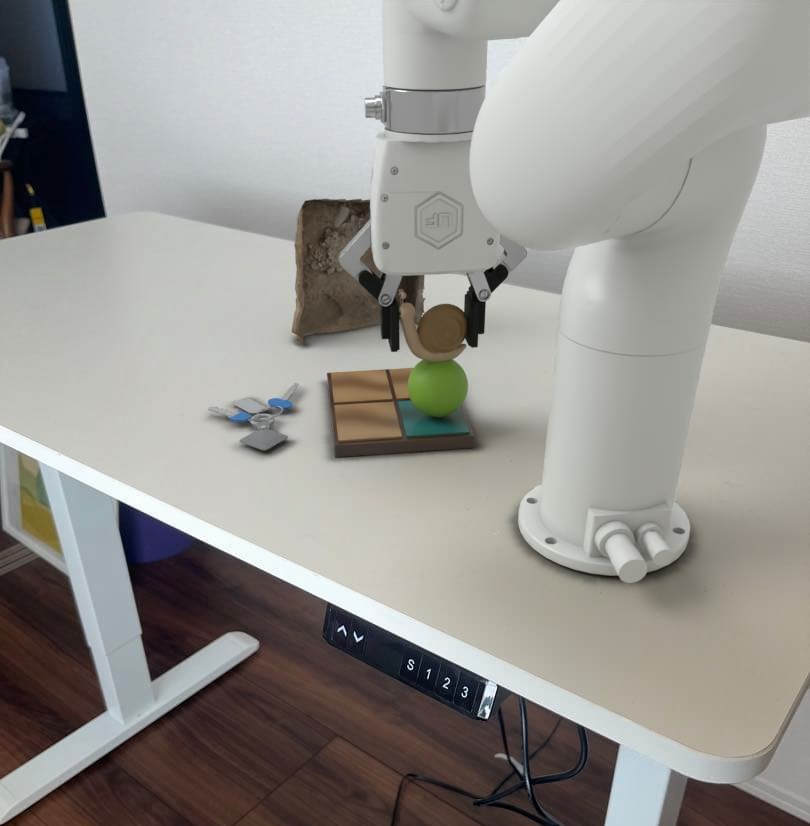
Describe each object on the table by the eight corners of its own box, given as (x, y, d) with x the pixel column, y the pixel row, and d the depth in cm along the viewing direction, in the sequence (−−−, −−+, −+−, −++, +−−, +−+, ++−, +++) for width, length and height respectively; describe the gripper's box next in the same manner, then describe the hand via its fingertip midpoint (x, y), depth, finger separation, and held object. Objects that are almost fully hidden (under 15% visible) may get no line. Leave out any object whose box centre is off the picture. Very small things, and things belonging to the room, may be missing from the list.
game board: (474, 448, 73) (474, 433, 72) (335, 457, 72) (334, 443, 71) (445, 376, 86) (445, 363, 85) (327, 383, 85) (326, 370, 84)
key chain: (285, 453, 72) (284, 445, 72) (192, 455, 72) (190, 447, 71) (300, 388, 83) (299, 380, 83) (219, 389, 83) (218, 382, 83)
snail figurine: (389, 404, 76) (389, 278, 69) (454, 394, 78) (460, 270, 70) (407, 434, 72) (408, 304, 65) (475, 423, 74) (484, 294, 66)
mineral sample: (298, 347, 93) (286, 206, 85) (287, 335, 96) (274, 198, 88) (431, 324, 99) (431, 190, 90) (416, 314, 102) (416, 183, 93)
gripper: (320, 124, 57) (335, 366, 67) (561, 117, 59) (539, 355, 69) (317, 109, 63) (331, 334, 74) (535, 103, 65) (519, 324, 75)
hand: (432, 342), depth 71 cm, fingers closed on snail figurine, 6 cm apart
